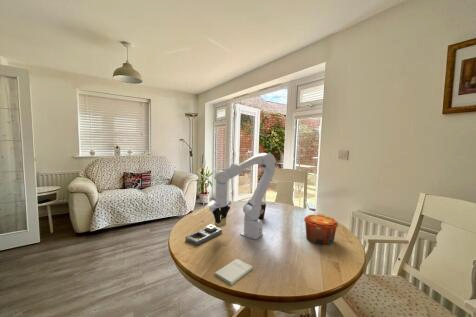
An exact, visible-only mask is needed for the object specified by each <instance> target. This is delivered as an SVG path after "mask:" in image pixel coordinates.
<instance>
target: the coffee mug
mask: <svg viewBox="0 0 476 317" xmlns="http://www.w3.org/2000/svg"><path fill="white" fill-rule="evenodd" d="M266 208H267V202H265V201H263V200H262V201H261V210H260V216H259V218H258V219H259V220H261V221H262V220H264V218H265V214H266Z"/></svg>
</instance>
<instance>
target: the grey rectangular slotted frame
mask: <svg viewBox="0 0 476 317" xmlns="http://www.w3.org/2000/svg"><path fill="white" fill-rule="evenodd" d="M222 233H223V229H222V228H220V227H217V226H216V231H215V232H213V233H209V232H206V231H205V227H204V228H202V229H200V230H197V231H196V232H193V233H190V234H189V235H186V236H185V241H186V242H188V243H190V244H192V245H195V246H200V245H201V244H204V243H205V242H208V241H209V240H211V239H213V238H214V237H216V236H219V235H221V234H222ZM197 237H200V238H199V239H197Z"/></svg>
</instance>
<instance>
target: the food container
mask: <svg viewBox="0 0 476 317" xmlns="http://www.w3.org/2000/svg"><path fill="white" fill-rule="evenodd" d="M303 220H304V223H305V225H304V226H305V238H306V240H308V241H309V242H310V243H312V244H315V245H317V244H319V245H318V246H323V245H328V246H331V245H332V244H334V243H335V242H334V240H335V235H336V230H337V228H338V226H339V223H338V222H337V220H335V218H333V217H330V216H325V215H322V214H309V215H307V216H305V217H304V219H303Z"/></svg>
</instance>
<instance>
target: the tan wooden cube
mask: <svg viewBox="0 0 476 317" xmlns="http://www.w3.org/2000/svg"><path fill="white" fill-rule="evenodd" d="M214 226H216V227H217V228H220V229H222V228H223V227H225V226H227V216H226V217H222V216H221V217H220V223H219V224H218V223H216V222H215V221H214Z"/></svg>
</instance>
